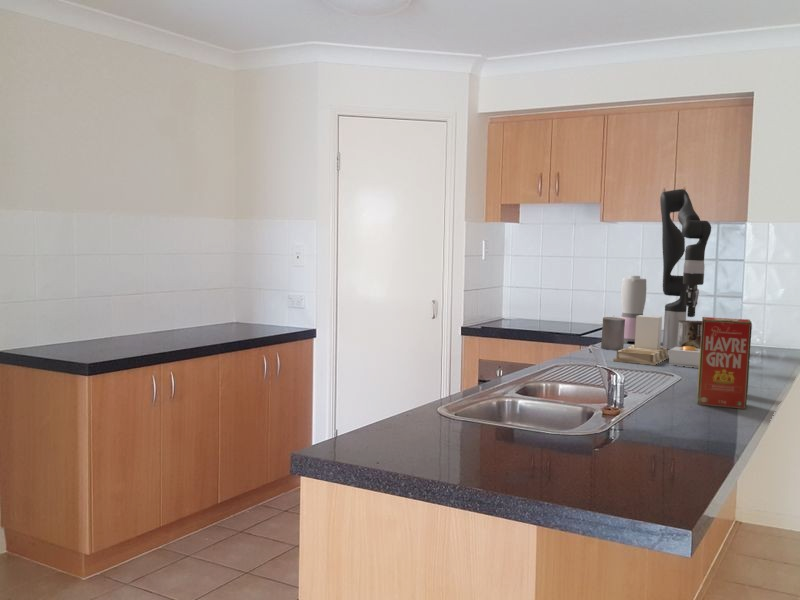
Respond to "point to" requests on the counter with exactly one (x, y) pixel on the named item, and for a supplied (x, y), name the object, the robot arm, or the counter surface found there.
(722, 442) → the counter surface
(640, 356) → the pallet
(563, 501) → the counter surface
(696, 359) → the console
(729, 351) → the food packaging
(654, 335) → the carton
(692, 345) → the coffee box
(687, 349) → the button
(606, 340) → the pillar candle
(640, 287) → the blender
